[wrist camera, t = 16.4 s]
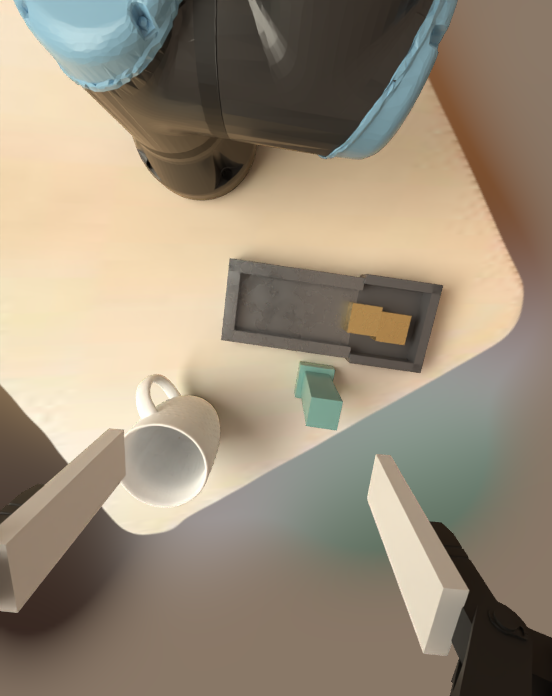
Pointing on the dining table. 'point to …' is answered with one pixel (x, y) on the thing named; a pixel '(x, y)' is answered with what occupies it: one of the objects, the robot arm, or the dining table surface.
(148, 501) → the mug
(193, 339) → the dining table surface
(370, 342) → the tray
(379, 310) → the chip
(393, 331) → the chip
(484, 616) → the robot arm
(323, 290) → the dark gray shallow tray
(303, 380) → the teal t-shaped block
